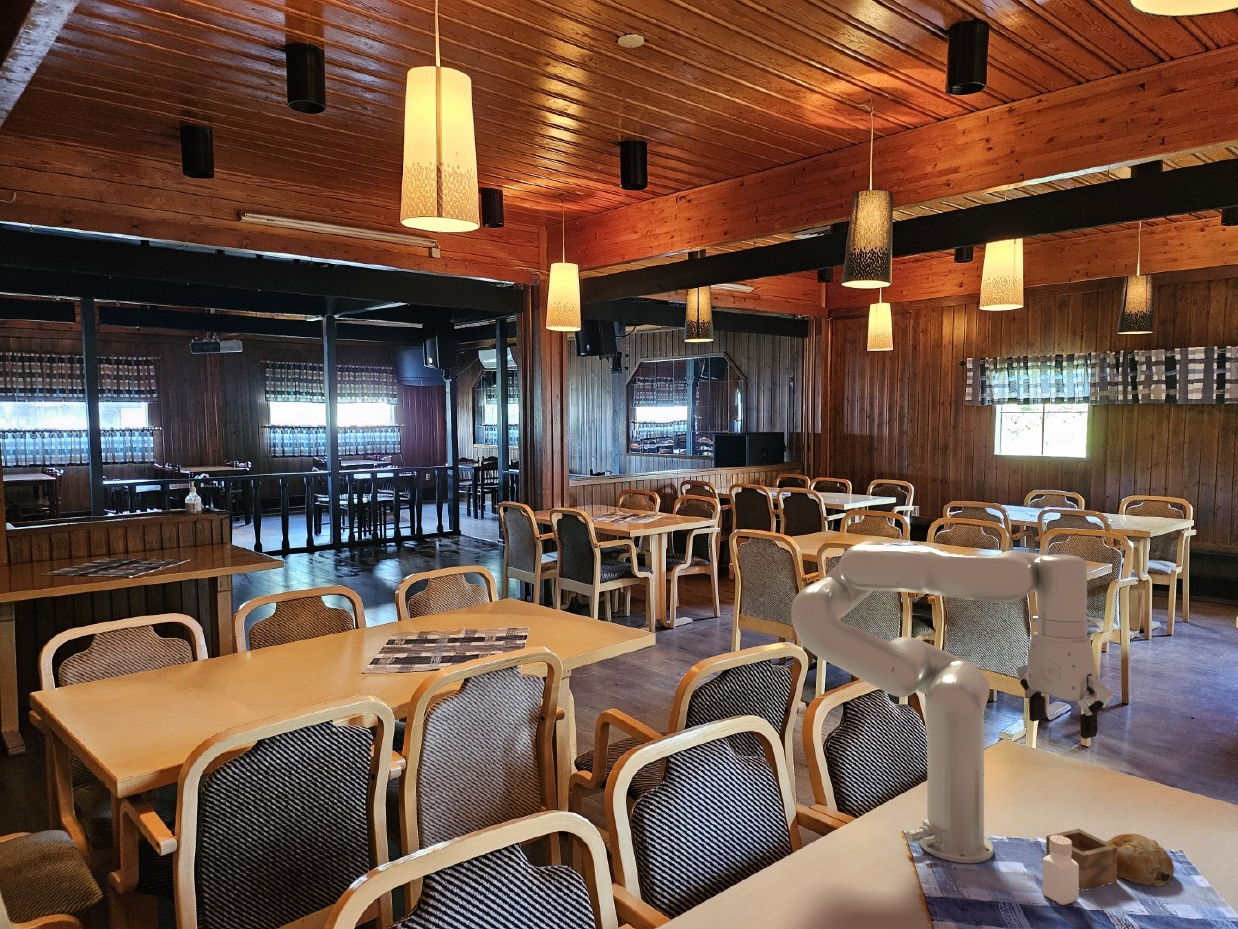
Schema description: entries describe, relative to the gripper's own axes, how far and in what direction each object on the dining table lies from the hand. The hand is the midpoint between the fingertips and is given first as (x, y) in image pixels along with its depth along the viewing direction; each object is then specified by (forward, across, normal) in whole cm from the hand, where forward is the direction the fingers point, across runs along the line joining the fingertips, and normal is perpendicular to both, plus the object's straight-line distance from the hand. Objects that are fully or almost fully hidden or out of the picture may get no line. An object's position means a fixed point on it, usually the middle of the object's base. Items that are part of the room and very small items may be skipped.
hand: (1062, 728), depth 142 cm
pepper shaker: (+25, +6, -8) cm, 27 cm away
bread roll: (+25, +5, +11) cm, 28 cm away
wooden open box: (+25, +2, +1) cm, 25 cm away
